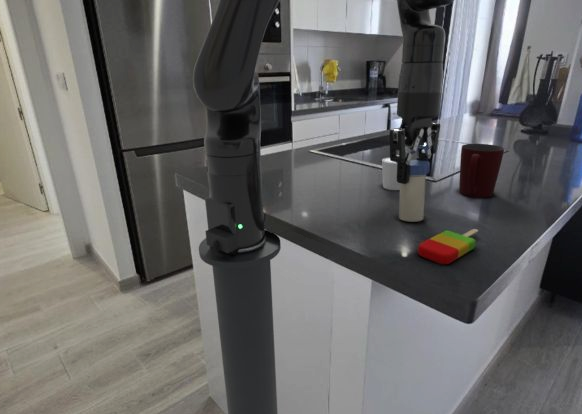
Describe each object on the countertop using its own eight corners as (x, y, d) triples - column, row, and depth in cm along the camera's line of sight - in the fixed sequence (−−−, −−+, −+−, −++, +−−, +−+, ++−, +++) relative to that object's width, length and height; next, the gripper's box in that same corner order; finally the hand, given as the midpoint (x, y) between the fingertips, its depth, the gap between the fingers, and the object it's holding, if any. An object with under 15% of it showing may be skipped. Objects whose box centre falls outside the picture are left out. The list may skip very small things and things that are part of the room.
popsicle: (414, 254, 62) (415, 244, 61) (461, 230, 71) (462, 220, 70) (445, 267, 58) (447, 256, 57) (491, 239, 67) (492, 229, 66)
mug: (488, 205, 83) (497, 155, 79) (447, 198, 88) (453, 150, 84) (499, 191, 92) (507, 146, 88) (461, 185, 97) (467, 142, 93)
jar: (418, 223, 73) (420, 168, 70) (394, 219, 76) (396, 166, 73) (427, 216, 77) (430, 164, 74) (404, 213, 80) (406, 162, 76)
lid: (435, 173, 71) (435, 163, 71) (405, 176, 70) (406, 166, 70) (419, 168, 77) (420, 158, 76) (391, 170, 76) (392, 161, 75)
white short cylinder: (393, 192, 92) (396, 164, 90) (374, 185, 98) (376, 159, 95) (413, 187, 96) (416, 160, 93) (394, 181, 101) (396, 155, 99)
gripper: (416, 92, 61) (408, 191, 67) (458, 88, 71) (448, 176, 76) (378, 90, 67) (373, 183, 72) (422, 87, 76) (414, 170, 81)
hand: (412, 179), depth 74 cm, fingers closed on lid, 6 cm apart
